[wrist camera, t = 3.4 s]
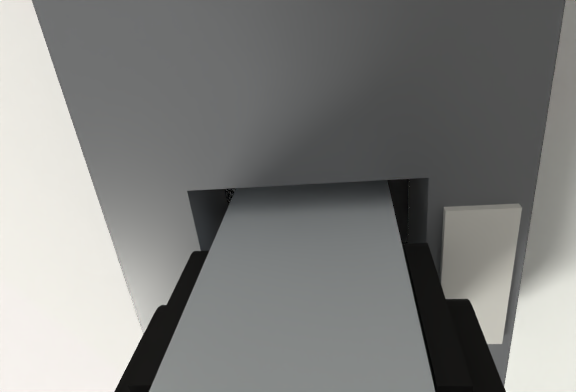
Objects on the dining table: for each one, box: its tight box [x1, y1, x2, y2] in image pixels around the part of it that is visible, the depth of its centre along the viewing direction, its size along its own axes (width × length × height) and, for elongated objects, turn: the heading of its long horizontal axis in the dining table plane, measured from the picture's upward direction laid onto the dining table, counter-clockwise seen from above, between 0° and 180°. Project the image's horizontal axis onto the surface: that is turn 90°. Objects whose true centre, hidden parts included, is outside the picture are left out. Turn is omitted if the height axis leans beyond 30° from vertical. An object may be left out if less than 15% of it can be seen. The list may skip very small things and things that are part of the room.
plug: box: [149, 180, 435, 392], centre depth 10 cm, size 4×4×10 cm
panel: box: [32, 0, 565, 386], centre depth 10 cm, size 10×20×3 cm, turn 6°
